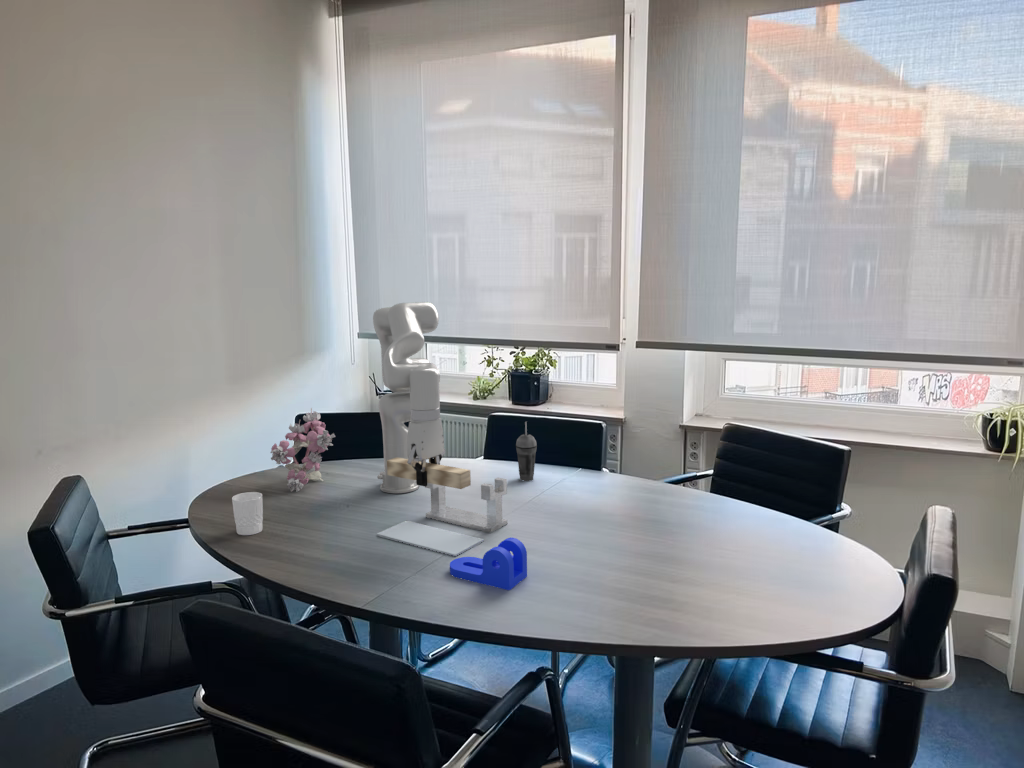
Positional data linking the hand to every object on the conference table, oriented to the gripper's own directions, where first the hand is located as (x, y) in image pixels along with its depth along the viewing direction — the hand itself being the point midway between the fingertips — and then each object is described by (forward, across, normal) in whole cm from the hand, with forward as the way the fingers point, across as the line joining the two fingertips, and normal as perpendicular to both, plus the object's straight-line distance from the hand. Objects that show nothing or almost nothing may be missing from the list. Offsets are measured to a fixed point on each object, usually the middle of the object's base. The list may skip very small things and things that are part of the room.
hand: (427, 482), depth 191 cm
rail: (-1, 0, 0) cm, 1 cm away
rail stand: (+15, -16, 0) cm, 22 cm away
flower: (+15, -14, -66) cm, 69 cm away
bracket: (+16, +11, +26) cm, 32 cm away
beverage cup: (+15, -59, -7) cm, 62 cm away
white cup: (+16, +22, -46) cm, 53 cm away
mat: (+15, 0, 0) cm, 15 cm away
